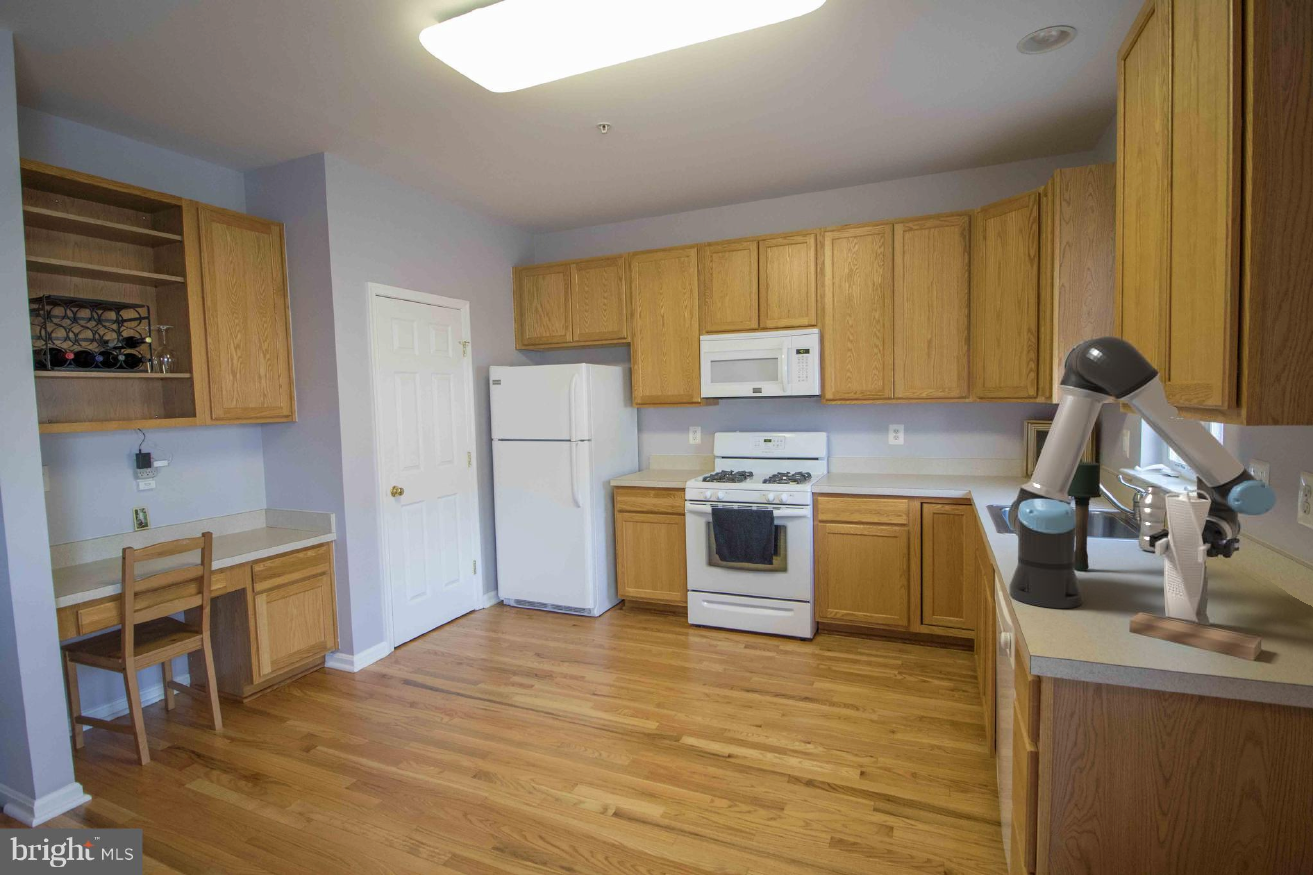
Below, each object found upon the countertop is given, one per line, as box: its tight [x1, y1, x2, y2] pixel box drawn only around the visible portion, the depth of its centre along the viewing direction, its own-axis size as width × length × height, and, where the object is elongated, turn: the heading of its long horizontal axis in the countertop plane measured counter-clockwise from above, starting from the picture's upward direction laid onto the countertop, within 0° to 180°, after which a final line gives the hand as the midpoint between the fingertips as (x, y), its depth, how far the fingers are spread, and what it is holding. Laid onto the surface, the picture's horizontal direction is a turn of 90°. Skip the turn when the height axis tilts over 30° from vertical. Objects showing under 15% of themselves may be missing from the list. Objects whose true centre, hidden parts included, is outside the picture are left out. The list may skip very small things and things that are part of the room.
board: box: [1128, 611, 1262, 661], centre depth 126 cm, size 19×7×3 cm, turn 38°
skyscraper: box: [1163, 489, 1211, 626], centre depth 133 cm, size 8×8×28 cm
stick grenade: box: [1067, 461, 1102, 572], centre depth 174 cm, size 8×9×30 cm
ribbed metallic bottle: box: [1137, 485, 1167, 553], centre depth 192 cm, size 6×7×20 cm
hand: (1178, 552), depth 130 cm, fingers closed on skyscraper, 6 cm apart
